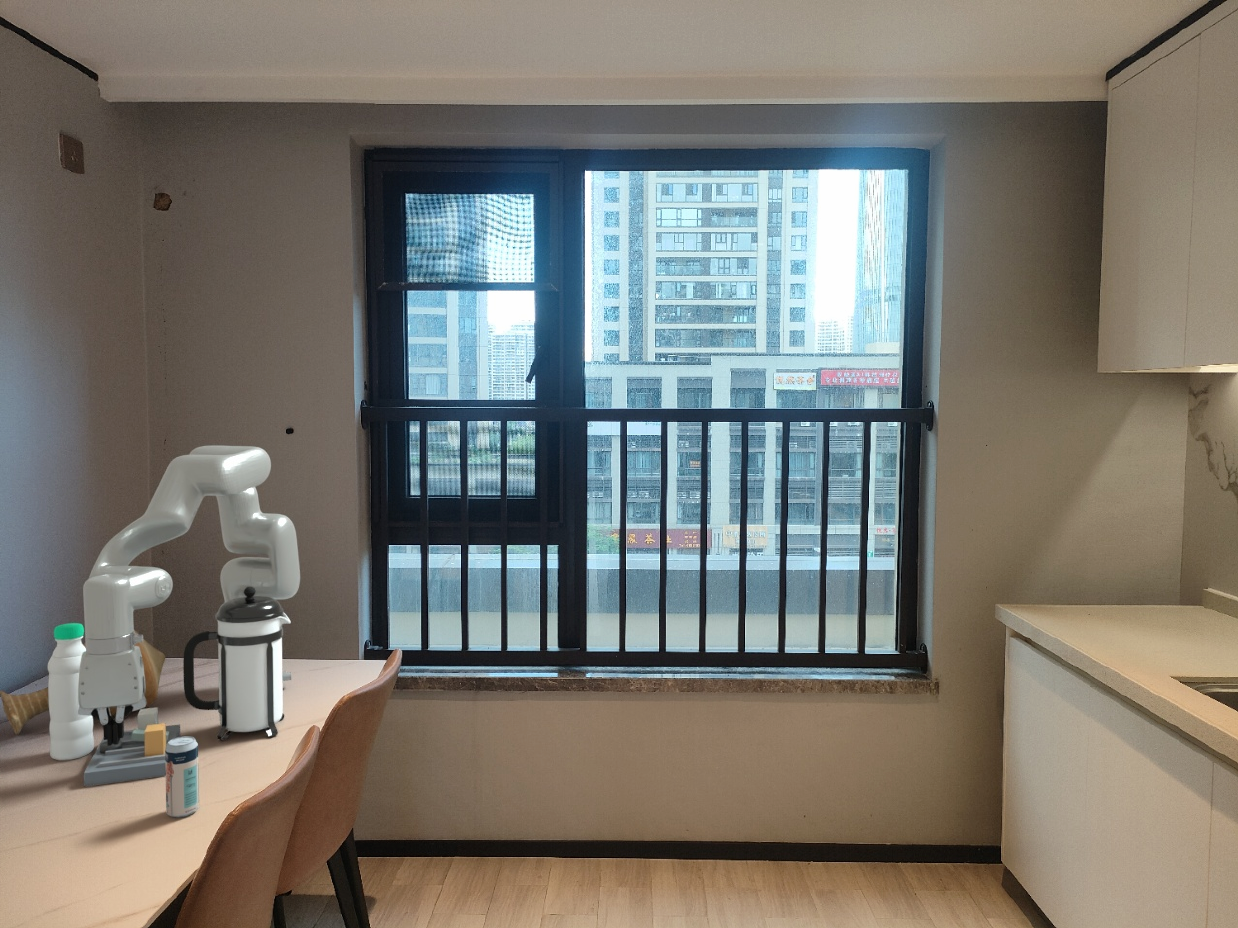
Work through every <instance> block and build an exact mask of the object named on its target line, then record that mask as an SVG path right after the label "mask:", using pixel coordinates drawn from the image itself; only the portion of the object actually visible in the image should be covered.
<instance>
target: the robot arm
mask: <svg viewBox="0 0 1238 928" xmlns="http://www.w3.org/2000/svg"><path fill="white" fill-rule="evenodd" d="M266 451H267V450H265V449H263V448H261V447H258V446H251V445H250V446H249V445H248V446H245V445H203V446H197V447H195V448H193V450H191V451H190V452H189V454H183V455H180V456H177V457H175V458H173V459H172V460H171V461H170V462H169V464H168V466H167V468H166V470H165V472H164V473H163V476H162V477H161V480H160V482H159V484H158V486H157V488H156V490H155V492H154V495H152V498H151V500H150V502H149V504H148V506H147V508H146V510H145V512H144V514H142V516H140V517H139V518H137V519H136V520H134V521H133V522H131V523H129V524H128V525H127V526H126V527H124V528H123V529H122V530H121V531H119V532H118V533H117V534H115V535H114V536H112V538H111V539H110V540H109V541H108V542H106V544H105V545H104V546H103V548H102V550H100V553H99V554H98V556H97V559H96V561H95V563H94V564H93V567H92V569H91V572H90V574H89V576H88V579H87V580H85V582H84V584H83V586H82V589H83V591H82V593H83V596H82V597H83V613H84V614H83V615H84V617H83V618H84V636H85V637H84V638H85V642H84V643H86V651H85V652H83V653H82V657H81V662H80V669H79V684H78V703H79V709H78V714H79V715H86V716H93V719H96V720H97V721H98V722H100V724H101V725H102V727H103V728H102V730H103V737H104V740H107V744H108V746H110V745H112V744H114V745H118V743H119V741H120V739H121V738H123V737H124V731H125V727H124V726H125V725H124V724H125V722H124V720H125V719H126V718H127V717H128V716H129V715H130V714H131V713H133V712H135V711H134V710H136V711H138V709H139V710H140V709H141V708H142V709H145V708H146V707H145V706H146V704H147V702H146V699H145V696H144V694H145V675H144V666H143V660H142V655H141V651H140V648H139V646H134V645H135V644H136V643H138V642H143V639H144V635H143V634H139V633H138V634H139V635H138V634H136V633H135V631H136V630H135V629H134V628H135V627H134V626H135V625H134V611H135V610H140V609H141V610H142V609H146V608H152V607H156V606H158V605H160V604H162V603H164V602H165V601H166V600H167V599H168V598H169V597H170V595H171V593H172V591H173V586H174V583H173V578H172V576H171V574H169V573H168V572H167V570H164V569H162V568H160V567H156V566H155V567H154V566H139V565H130V564H131V562H132V561H133V560H134V559H135V558H136V557H138V556H139V555H140V554H142V553H143V552H145V551H147V550H149V549H150V548H154V547H156V546H159V545H161V544H163V543H166V542H169V541H171V540H174V539H176V538H178V537H181V536H183V535H185V534H186V533H188V531H189V530H190V528H191V526H192V523H193V521H194V519H195V516H196V515H197V512H198V511H199V508H200V506H201V503H202V502H203V499H204V498H205V497H206V496H209V497H210V496H212V497H216V500H217V505H218V511H219V520H220V527H221V536H222V542H223V545H224V547H225V549H226V550H227V551H228V552H229V553H233V554H240V555H258V556H259V555H261V557H258V556H257V557H256V556H253V557H252V556H249V557H248V556H242V557H236V558H233V559H231V560H229V561H227V562H226V563H225V564H224V565H223V567H222V568H221V571H220V577H219V578H220V587H221V591H222V595H223V599H224V603H225V602H227V601H229V600H232V599H235V598H240V597H247V596H245V594H244V590H245V588H247V587H249V586H251V587H254V588H255V590H256V592H255V595H254V596H264V597H270V598H273V599H275V600H287V599H290V598H293V597H294V596H295V595H296V594H297V592H298V591H299V588H300V583H301V571H300V569H301V566H300V558H299V549H298V548H299V547H298V538H297V531H296V528H295V527H296V526H295V525H294V523H293V521H292V520H291V519H290V518H289V517H288V516H287V515H285V514H280V513H264V512H262V510H261V507H260V502H259V501H260V500H259V495H258V490H257V488H256V487H258V486H260V485H262V484H263V483H264V482H265V481H266V480H267V479H268V478H269V475H270V474H271V468H272V462H271V461H272V460H271V458H270V455H269V454H268V452H266ZM262 555H263V556H268V557H262ZM134 630H135V631H134ZM282 681H283V682H285V681H292V671H288V672H287V670H282ZM109 707H117V713H116V715H115V717H113V716H111V714H110V709H109ZM144 707H145V708H144ZM132 711H133V712H132Z"/></svg>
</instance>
